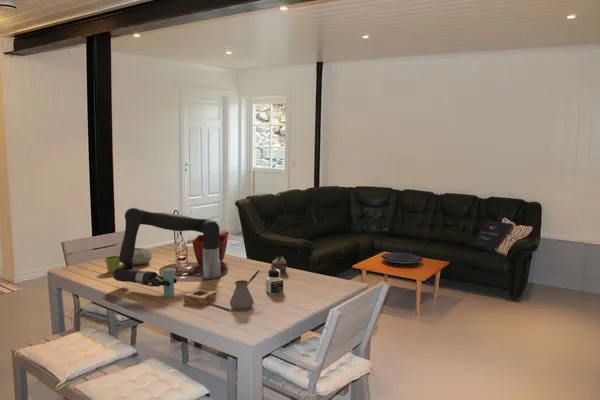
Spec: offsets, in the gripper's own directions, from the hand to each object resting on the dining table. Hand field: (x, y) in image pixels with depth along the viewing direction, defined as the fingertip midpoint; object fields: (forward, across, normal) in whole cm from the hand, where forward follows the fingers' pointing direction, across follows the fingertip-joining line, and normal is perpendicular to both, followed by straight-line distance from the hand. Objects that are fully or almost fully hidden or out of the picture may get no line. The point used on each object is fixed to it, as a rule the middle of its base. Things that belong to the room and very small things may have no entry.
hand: (172, 282), depth 249 cm
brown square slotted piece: (+16, +1, +8) cm, 18 cm away
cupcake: (+30, +60, +8) cm, 67 cm away
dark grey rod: (+29, -2, +8) cm, 30 cm away
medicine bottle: (+43, +29, +8) cm, 53 cm away
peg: (-3, 0, +8) cm, 8 cm away
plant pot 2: (-18, +58, +8) cm, 61 cm away
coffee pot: (+40, +6, +8) cm, 42 cm away
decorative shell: (-60, +39, +8) cm, 72 cm away
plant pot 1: (-61, +20, +8) cm, 64 cm away
